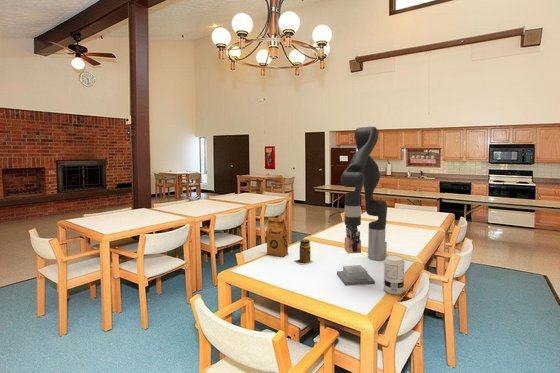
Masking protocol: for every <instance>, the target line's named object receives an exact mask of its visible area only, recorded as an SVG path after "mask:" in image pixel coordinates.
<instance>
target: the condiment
mask: <svg viewBox="0 0 560 373" xmlns="http://www.w3.org/2000/svg"><path fill="white" fill-rule="evenodd" d="M294 262H295V263H297V264H298V265H301V266H302V265H306V264H311V263H314V261H313V260H311V244H310V240H309V239H304V238H303V239H300V241H299V259H295V260H294Z"/></svg>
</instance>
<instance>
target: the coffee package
mask: <svg viewBox="0 0 560 373" xmlns="http://www.w3.org/2000/svg"><path fill="white" fill-rule="evenodd" d="M266 226H267V227H266V232H265V234H266V254H268V255H273V256H276V257H277V256H278V257H281V258H282V257H283V258H284V257H285V256H287V255H289V239H288V231H287V225H286V221H285V219H284V218H276V217H268V218H267V225H266Z"/></svg>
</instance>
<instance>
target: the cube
mask: <svg viewBox="0 0 560 373" xmlns="http://www.w3.org/2000/svg"><path fill="white" fill-rule="evenodd" d="M355 241H356V240H355ZM344 250H345V252H346V253H347V254H361V253H362V240H361V239H360V243H359V244H358V251H357V252H353V250H352V239H351V237H346V236H345V237H344Z"/></svg>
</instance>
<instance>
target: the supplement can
mask: <svg viewBox="0 0 560 373" xmlns="http://www.w3.org/2000/svg"><path fill="white" fill-rule="evenodd" d="M383 260H384V261H383V290H384V291H385V293H387V294H389V295H393V296H394V295H395V296H396V295H401V294H403V293H404V291H405V290H404V289H405V260H404V258H403V257H402V256H399V255H391V254H390V255H386V259H383Z"/></svg>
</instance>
